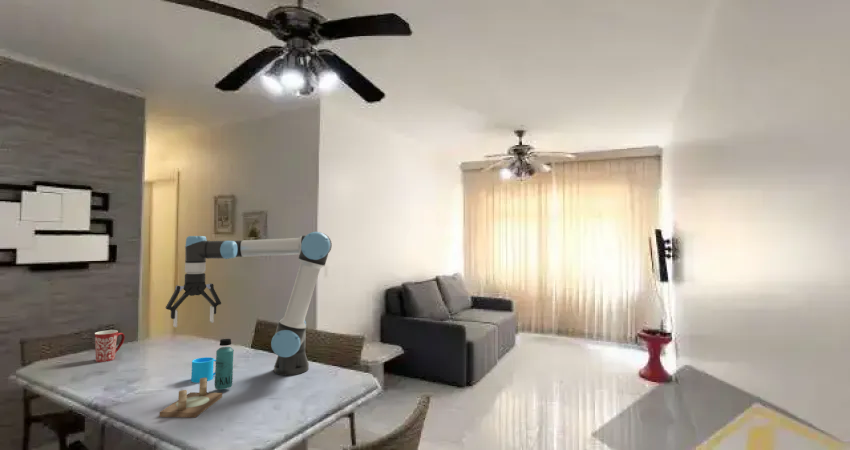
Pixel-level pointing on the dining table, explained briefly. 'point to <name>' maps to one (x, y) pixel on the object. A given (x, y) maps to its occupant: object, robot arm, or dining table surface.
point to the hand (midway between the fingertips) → (193, 324)
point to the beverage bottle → (224, 365)
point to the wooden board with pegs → (191, 402)
